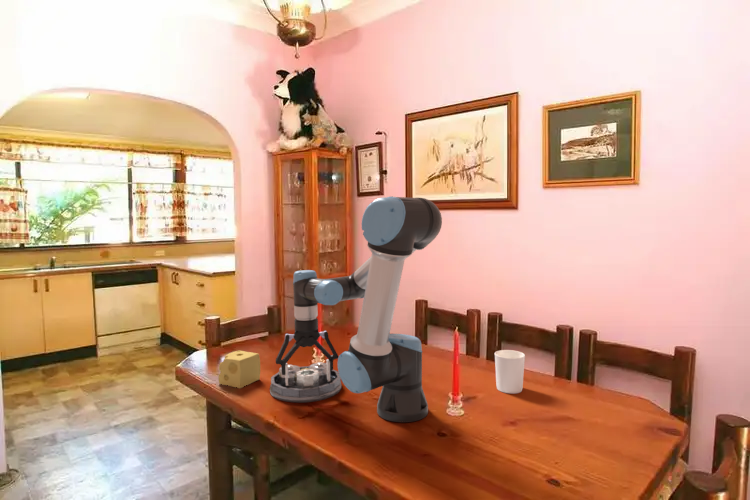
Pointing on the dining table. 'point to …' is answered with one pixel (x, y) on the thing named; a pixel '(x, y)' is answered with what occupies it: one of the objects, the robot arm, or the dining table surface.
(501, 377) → the white tapered cup
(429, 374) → the dining table surface
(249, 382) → the cheese
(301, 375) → the octagonal hollow container
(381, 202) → the robot arm
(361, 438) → the dining table surface
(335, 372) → the carrier
